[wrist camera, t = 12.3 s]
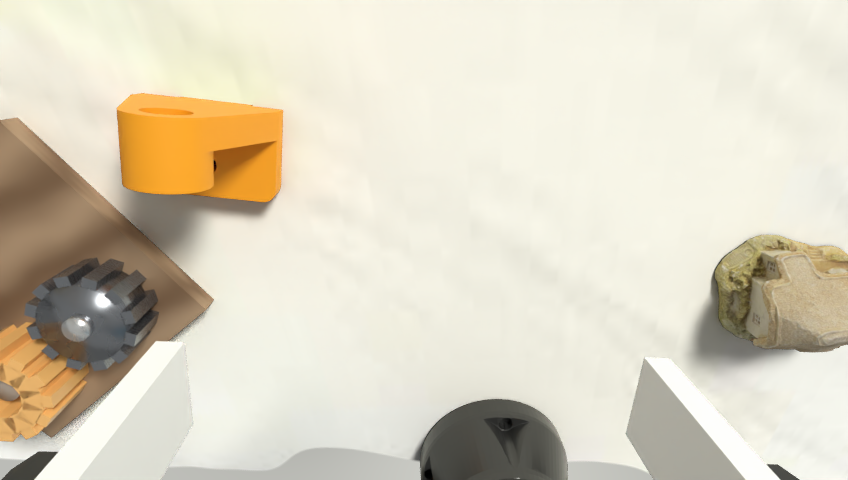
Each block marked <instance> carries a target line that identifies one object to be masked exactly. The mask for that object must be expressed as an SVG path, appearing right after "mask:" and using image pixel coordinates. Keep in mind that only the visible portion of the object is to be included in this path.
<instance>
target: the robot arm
mask: <svg viewBox="0 0 848 480" xmlns="http://www.w3.org/2000/svg"><path fill="white" fill-rule="evenodd" d="M192 425H193V417H192V408H191V398H190V389H189V379H188V370H187V360H186V350H185V342H167V341H156V342H155V343H154V344H153V345H152V346H151V347H150V349H149V350H148V351H147V352H146V353H145V354H144V355H143V357H142V358H141V359H140V360H139V361H138V362H137V363H136V365H135V366H134V367H133V368H132V369H131V370H130V371H129V373H128V374H127V375H126V376H125V377H124V378H123V379H122V380H121V382H120V383H119V384H118V385H117V386H116V387H115V388H114V390H113V391H112V392H111V393H110V394H109V395H108V396H107V398H106V399H105V400H104V401H103V402H102V403H101V404H100V405H99V407H98V408H97V409H96V410H95V411H94V412H93V413H92V415H91V416H90V417H89V418H88V419H87V420H86V421H85V423H84V424H83V425H82V426H81V427H80V428H79V429H78V430H77V432H76V433H75V434H74V435H73V436H72V437H71V438H70V440H69V441H68V442H67V443H66V444H65V445H64V446H63V448H62V449H61V450H60V451H59V452H37V453H36V454H34V455H33V456H31V457H30V458H28V459H27V460H25V461H24V462H22V463H20V464H19V465H17V466H16V467H14V468H13V469H11V470H10V471H9V472H8V474H7V475H6V476H5V477H4V478H3V479H2V480H161V479H162V477H163V476H164V474H165V472H166V470H167V469H168V467H169V465H170V463H171V462H172V460H173V458H174V456H175V455H176V453H177V451H178V450H179V448H180V446H181V444H182V443H183V441H184V439H185V437H186V436H187V434H188V432H189V430H190V429H191V427H192ZM626 435H627V437H628V439H629V440H630V442H631V443H632V445H633V447H634V448H635V450H636V452H637V453H638V455H639V457H640V458H641V460H642V462H643V463H644V465H645V467H646V468H647V470H648V471H649V473H650V475H651V476H652V478H653V480H799V479H798V478H796V477H795V476H793V475H792V474H790V473H789V472H788V471H786V470H785V469H783V468H782V467H780V466H779V465H773V464H766V463H765V462H764V461H763V460H762V459H761V458H760V457H759V456H758V455H757V454H756V452H755V451H754V450H753V449H752V448H751V447H750V446H749V445H748V444H747V443H746V442H745V440H744V439H743V438H742V437H741V436H740V435H739V434H738V433H737V432H736V431H735V429H734V428H733V427H732V426H731V425H730V424H729V423H728V422H727V421H726V420H725V418H724V417H723V416H722V415H721V414H720V413H719V412H718V411H717V410H716V409H715V408H714V406H713V405H712V404H711V403H710V402H709V401H708V400H707V399H706V398H705V397H704V395H703V394H702V393H701V392H700V391H699V390H698V389H697V388H696V387H695V386H694V384H693V383H692V382H691V381H690V380H689V379H688V378H687V377H686V376H685V375H684V374H683V372H682V371H681V370H680V369H679V368H678V367H677V366H676V365H675V364H674V363H673V361H672V360H671V359H670V358H647V357H644V361H643V365H642V369H641V373H640V377H639V382H638V386H637V390H636V394H635V398H634V402H633V406H632V410H631V414H630V419H629V423H628V427H627V431H626ZM567 467H568V464H567V457H566V452H565V449H564V446H563V444H562V442H561V439H560V437H559V435H558V432H557V430H556V429H555V427H554V425H553V424H552V423H551V421H550V420H549V419H548V418H547V417H546V416H545V415H543V414H542V413H541V412H539V411H538V410H536V409H535V408H533V407H531V406H528V405H526V404H523V403H520V402H516V401H511V400H503V399H491V400H482V401H477V402H473V403H470V404H467V405H464V406H462V407H460V408H458V409H456V410H454V411H452V412H450V413H449V414H447V415H446V416H445V417H443V418H442V419H441V420H440V421H439V422H438V423H437V424H436V425H435V426H434V427H433V428H432V430H431V431H430V432H429V434H428V435H427V437H426V439H425V441H424V444H423V447H422V450H421V456H420V468H421V480H568V475H567V471H568V468H567Z"/></svg>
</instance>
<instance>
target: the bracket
mask: <svg viewBox="0 0 848 480" xmlns="http://www.w3.org/2000/svg"><path fill="white" fill-rule="evenodd" d="M117 120H118V133H119V146H120V160H121V173H122V184H123V186H124V187H126V188H128V189H130V190H134V191H138V192H144V193H152V194H190V195H200V196H209V197H219V198H228V199H238V200H248V201H257V202H268V201H270V200H271V199H272V198H273V197H274V196H275V195H276V194H277V193H278V192H279V191H280V188H281V162H282V128H283V110H279V109H271V108H262V107H254V106H253V105H246V104H238V103H229V102H221V101H213V100H204V99H196V98H188V97H170V96H162V95H153V94H145V93H141V94H133V95H130V96H129V97H128V98H127V99H126V100H125V101H124V102H123V103H122V104H121V105H119V106H118V107H117ZM214 160H215V162H216V165H217V167H216V168H215V167H214Z"/></svg>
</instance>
